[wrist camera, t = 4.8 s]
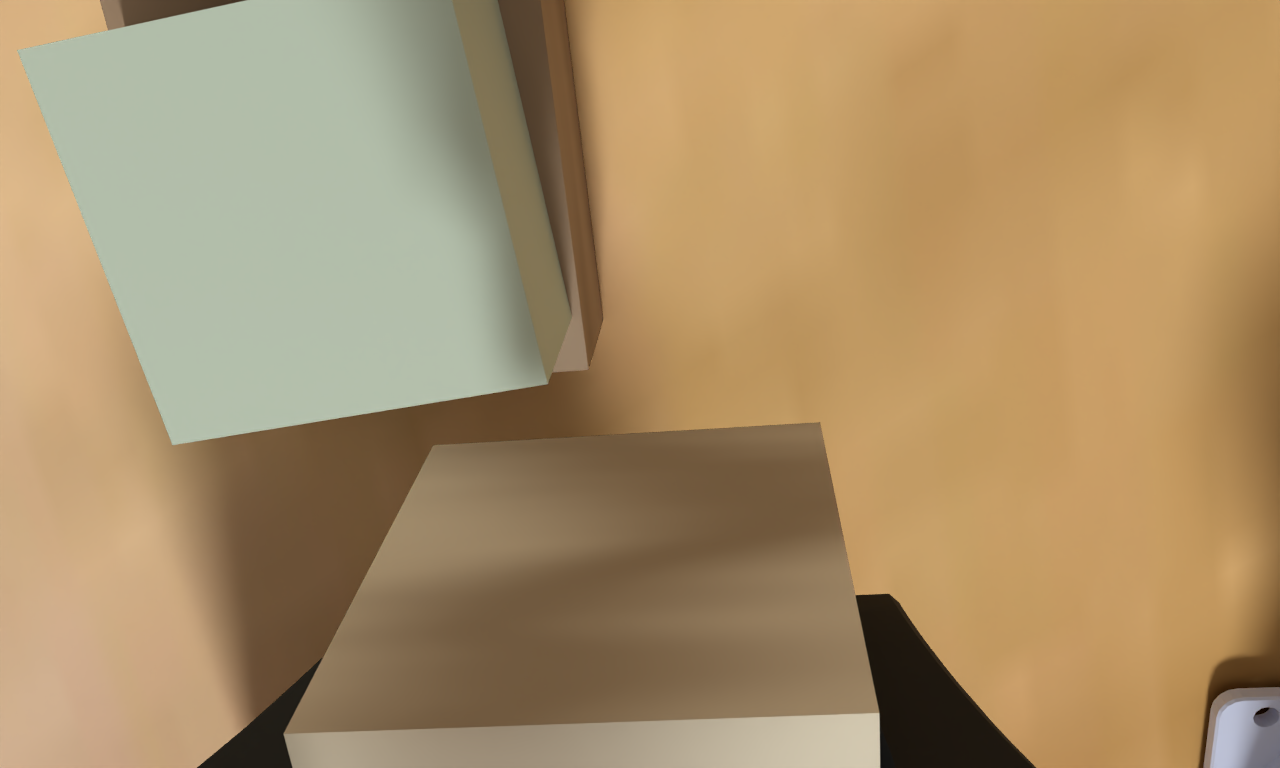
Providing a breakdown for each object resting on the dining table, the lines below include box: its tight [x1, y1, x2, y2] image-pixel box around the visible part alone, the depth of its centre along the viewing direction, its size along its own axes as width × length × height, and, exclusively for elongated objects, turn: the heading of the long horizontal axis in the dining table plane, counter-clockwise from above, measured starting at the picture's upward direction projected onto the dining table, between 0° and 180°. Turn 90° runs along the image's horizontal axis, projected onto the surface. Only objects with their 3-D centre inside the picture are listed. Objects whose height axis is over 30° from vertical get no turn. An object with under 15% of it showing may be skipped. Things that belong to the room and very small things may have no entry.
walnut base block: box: [100, 0, 603, 372], centre depth 20 cm, size 7×7×3 cm
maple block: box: [284, 422, 880, 768], centre depth 12 cm, size 4×4×5 cm
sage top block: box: [17, 0, 572, 445], centre depth 17 cm, size 6×6×3 cm
